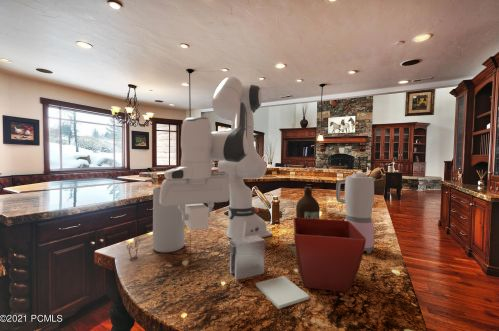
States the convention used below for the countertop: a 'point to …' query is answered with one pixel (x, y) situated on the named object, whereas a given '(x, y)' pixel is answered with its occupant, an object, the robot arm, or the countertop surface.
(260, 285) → the sage mat
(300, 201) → the olive oil
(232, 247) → the bar
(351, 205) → the blender
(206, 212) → the off-white cardboard box
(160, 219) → the cylinder vase
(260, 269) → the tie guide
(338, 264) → the plant pot
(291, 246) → the tactical tomahawk
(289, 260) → the countertop surface
